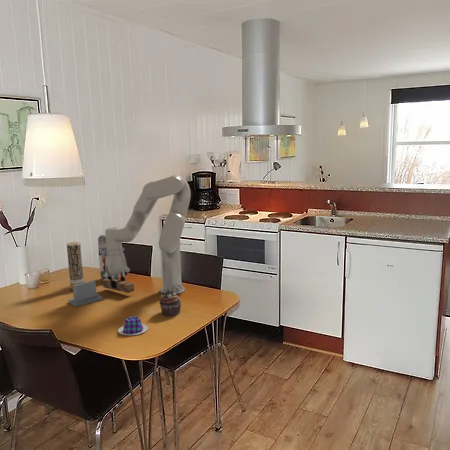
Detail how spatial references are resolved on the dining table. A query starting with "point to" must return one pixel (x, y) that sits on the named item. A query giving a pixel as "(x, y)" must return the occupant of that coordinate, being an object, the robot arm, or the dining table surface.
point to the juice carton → (103, 256)
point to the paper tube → (75, 263)
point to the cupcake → (170, 303)
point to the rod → (119, 285)
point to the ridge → (84, 293)
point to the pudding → (132, 326)
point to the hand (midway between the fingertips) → (118, 285)
